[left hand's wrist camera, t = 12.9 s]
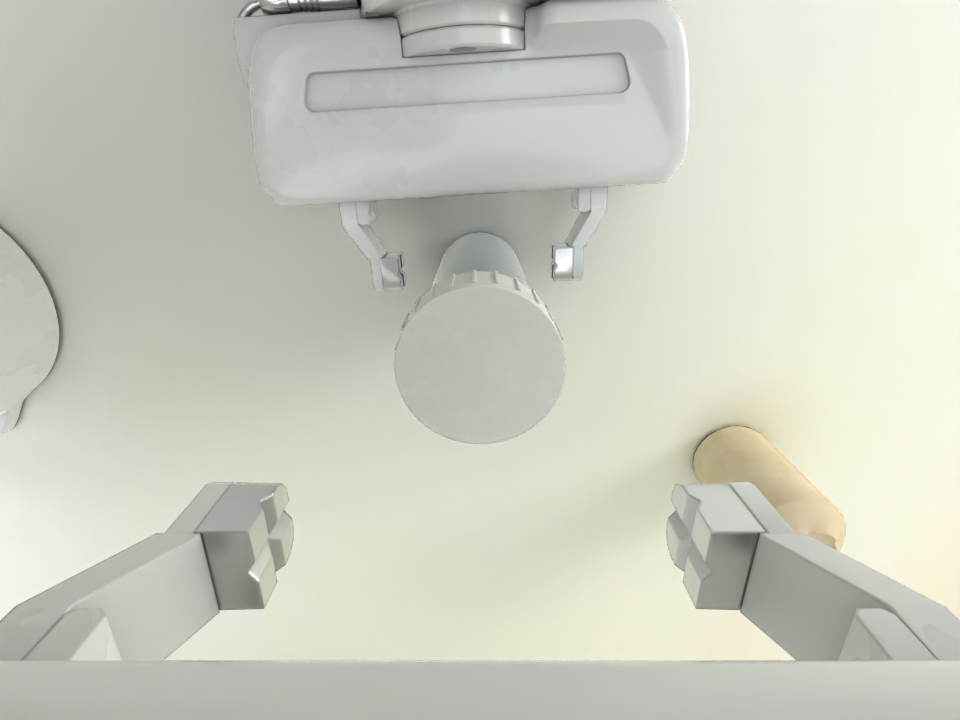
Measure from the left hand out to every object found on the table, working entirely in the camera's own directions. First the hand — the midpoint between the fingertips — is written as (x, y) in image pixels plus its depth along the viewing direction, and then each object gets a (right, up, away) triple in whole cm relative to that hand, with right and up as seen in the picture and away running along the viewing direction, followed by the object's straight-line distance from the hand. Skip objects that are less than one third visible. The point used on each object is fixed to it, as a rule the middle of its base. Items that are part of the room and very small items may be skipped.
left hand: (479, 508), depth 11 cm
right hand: (0, +7, +17) cm, 18 cm away
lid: (0, +3, +7) cm, 8 cm away
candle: (+18, -4, +27) cm, 33 cm away
